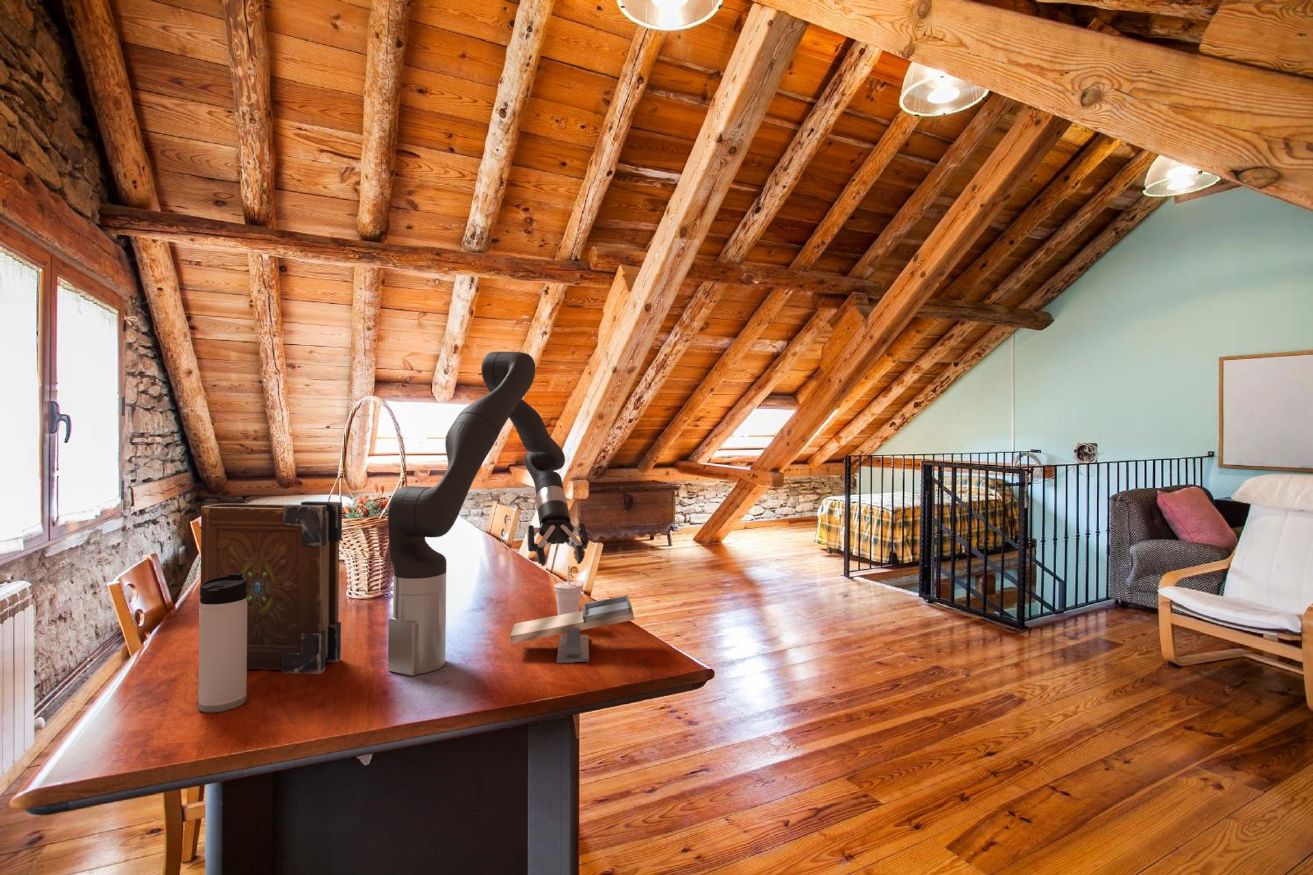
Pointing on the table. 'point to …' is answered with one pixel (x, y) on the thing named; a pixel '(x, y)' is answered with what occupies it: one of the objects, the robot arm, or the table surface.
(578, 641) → the pivot stand
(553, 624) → the balance beam
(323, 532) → the decorative book
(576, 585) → the smoothie
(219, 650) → the travel mug
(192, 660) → the table surface
